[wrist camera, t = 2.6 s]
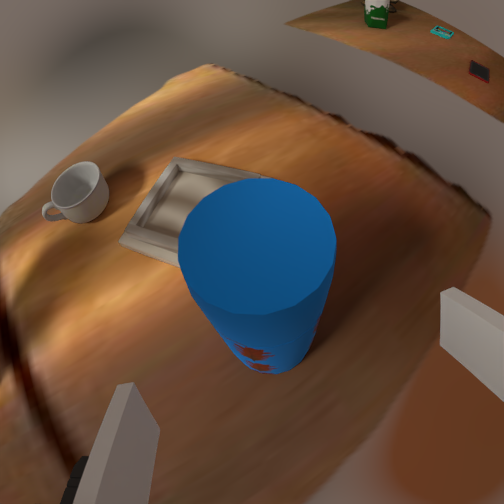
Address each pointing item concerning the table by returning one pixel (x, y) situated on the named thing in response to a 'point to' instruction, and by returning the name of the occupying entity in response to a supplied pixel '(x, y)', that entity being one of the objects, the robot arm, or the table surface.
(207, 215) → the thermos
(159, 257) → the grey square tray
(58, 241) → the table surface
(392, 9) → the owl figurine
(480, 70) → the cell phone
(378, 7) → the milk carton
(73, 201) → the teacup
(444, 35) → the handheld gaming console
